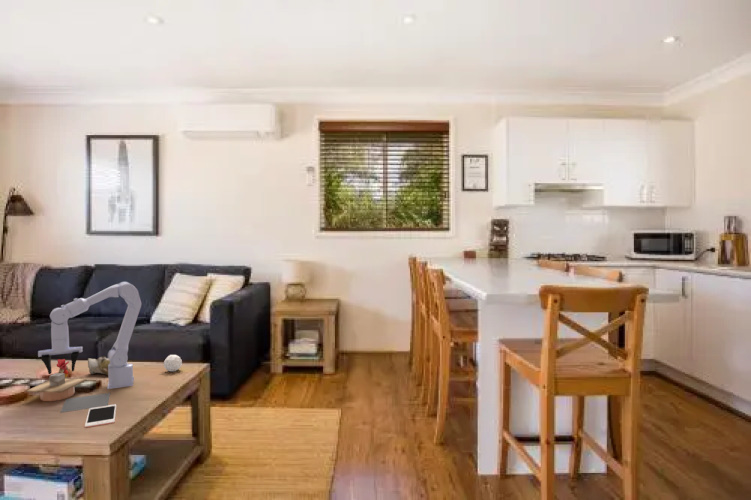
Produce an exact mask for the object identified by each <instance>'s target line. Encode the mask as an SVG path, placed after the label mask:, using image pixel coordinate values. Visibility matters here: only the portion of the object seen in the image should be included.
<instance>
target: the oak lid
mask: <svg viewBox="0 0 751 500" xmlns="http://www.w3.org/2000/svg"><path fill="white" fill-rule="evenodd" d="M48 377H49V380H48V381H45V382H42V383H40V384H37V385H36V386H33V387H32V388H29V389H27V390H26V392H28V393H40V392H64V391H66V390H68V389H70V388H72V387H75V386H77V385H80V384H82V383H85V381H87V379H86V378H66V379H65V373H58V372H56V373H54V374H53V373H52V374H50V375H49V376H48Z"/></svg>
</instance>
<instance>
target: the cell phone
mask: <svg viewBox="0 0 751 500" xmlns="http://www.w3.org/2000/svg"><path fill="white" fill-rule="evenodd" d="M87 411H88V412H87V416H86V420H85V423H84V428H85V429H87V428H86V427H88V428H92V427H93V426H94V427H100V426H105V424H106V425H112V424H115V423H116V412H117V404H116V403H115V404H108V406H102V407H94V408H89V409H88V410H87ZM114 422H115V423H114ZM111 423H112V424H111ZM99 425H100V426H99Z"/></svg>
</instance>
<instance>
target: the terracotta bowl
mask: <svg viewBox="0 0 751 500" xmlns="http://www.w3.org/2000/svg"><path fill="white" fill-rule="evenodd" d="M75 389H76V387H75V386H74V387H72V388H70V389H68V390H66V391H64V392H39V399H40V400H41V401H43V402H53V401H54V402H55V401H60V400H66V399H69V398H71V397H72V396H74V394H75V393H76V391H75Z"/></svg>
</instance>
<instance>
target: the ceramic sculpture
mask: <svg viewBox="0 0 751 500" xmlns="http://www.w3.org/2000/svg"><path fill="white" fill-rule="evenodd" d="M110 362H111V361H110V360H109V359H108V357H106V356H105V355H102V356H100V357H98V358H97V359H96V358H89V357H88V358H87V367H88V372H89V373H90V375H94V374H96V373H97V374H101V375H107V376H108V365H109V363H110Z"/></svg>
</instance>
